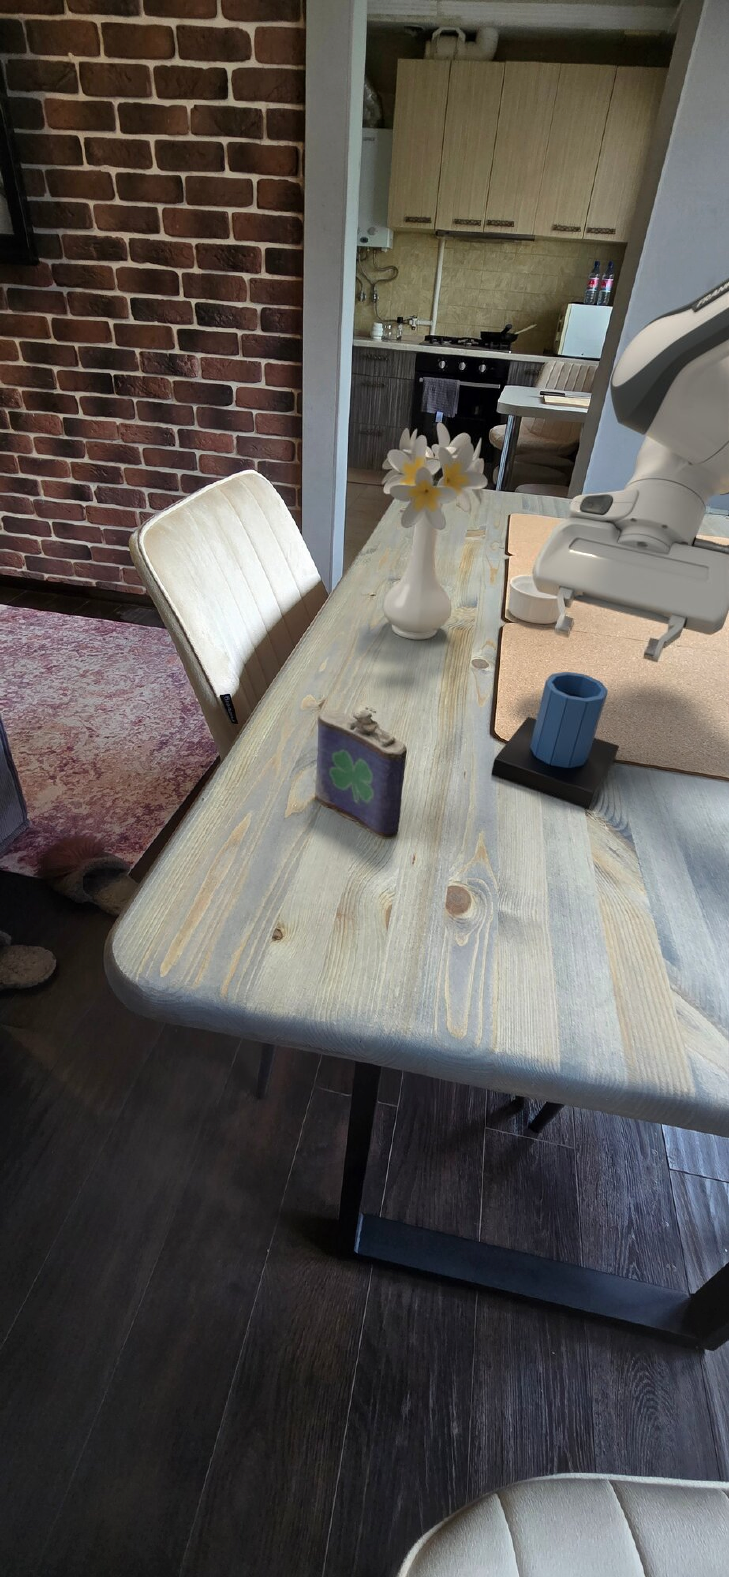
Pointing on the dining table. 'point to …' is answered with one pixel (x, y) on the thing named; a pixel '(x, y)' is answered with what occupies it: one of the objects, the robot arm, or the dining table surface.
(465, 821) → the dining table surface
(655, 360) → the robot arm
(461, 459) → the flower vase
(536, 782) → the black base with post
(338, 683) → the dining table surface
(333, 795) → the flask
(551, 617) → the ramekin
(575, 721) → the sleeve
